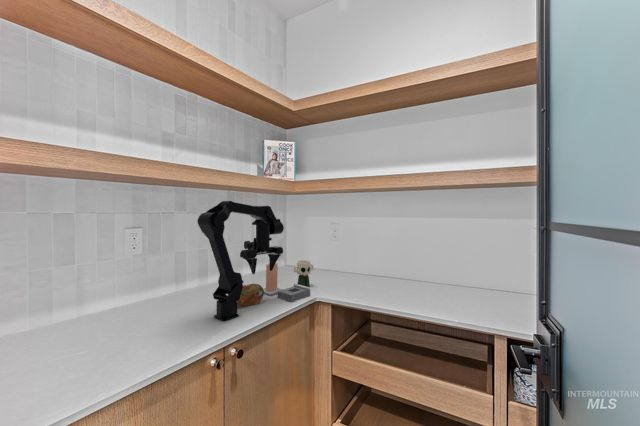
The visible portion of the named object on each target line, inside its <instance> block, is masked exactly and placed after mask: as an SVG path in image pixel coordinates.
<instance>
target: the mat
mask: <svg viewBox="0 0 640 426" xmlns="http://www.w3.org/2000/svg"><path fill="white" fill-rule="evenodd" d="M283 289H284V288H280V287H277V290H275V291H273V292H272V291H266V287H265V288H263V290H264V295H266V296H269V297H273V296H275V295H277V291H280V290H283Z"/></svg>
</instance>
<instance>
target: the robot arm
mask: <svg viewBox="0 0 640 426" xmlns="http://www.w3.org/2000/svg"><path fill="white" fill-rule="evenodd" d="M231 213H234V214H240V215H247V216H250V217H251V218H253V219H254V221H252V222H251V225H252V226H255V237H253V241H250V240H245V241H244V242H243V249H242V250H241V251H240V253H239V257H240V258H242V259H243V260H246V262H247V264H248V266H249V269H250V271H251V274H252V275H255V274H256V269H257V262H258V258H257V256H260V255H266V254H267V256H268V257H269V263H268V264H269V267H270V271H272V270H273V268H274V265H275V263H277V261H278V260H279V258H280V257H281V256H282V255H283V254H284V249H283V247H282V246H276V245H275V246H273V245H272V246H271V244H270V241H273V239H272V237H270V235H279V234H280V235H281V234H282V233H283V232H284V229H285V227H284V225H283V223H282V221H281V219H280V218H277V216H275V214H274V212H273V209H272V207H271V206H270V205H250V204H246V203H241V202H240V203H239V202H234V201H232V200H222V201H221V202H219V203H217V204H216V205H214V206H213V207H212V208H210V209H207V210H206V212H203V213H200V215H199V216H198V218H197V224H198V227H199V229H200V231H201V233H202V234H203V235H204V236H205V237H206V238H207V239H208V242H209V245H210V248H211V251H212V254H213V257H214V260H215V263H216V267H217V269H218V273H219V277H218V280H217V283H218V286H217V288H216V289H215V291H214V292H213V293H212V297H213V299H214V300H216V314H214V316H213V317H214V318H216V319H218V320H220V321H222V322H225V321H228V320H232V319H234V318H237V317H239V315H240V314H239V313H238V308H237V302H236V301H239V299H240V295H241V292H242V289H243V286H244V282H245V281H244V280H243V278H242V276H243V275H242V274H241V272H237V271H234V268H233V265H232V261H231V258H230V255H229V254H230V253H229V251H228V248H227V245H226V241H225V238H224V231H225V228H226V227H225V222H226V221H228V219H229V217H230V215H231ZM228 294H229V296H228Z"/></svg>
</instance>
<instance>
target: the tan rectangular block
mask: <svg viewBox="0 0 640 426" xmlns="http://www.w3.org/2000/svg"><path fill="white" fill-rule="evenodd" d="M278 267H279V266H278V263H277V262H276V263H275V265H274V268H273V270H272V271H270V267H269V263H267V264H266V267H265V272H266V273H265V288H266V291H272V292H273V291H275V290H277V288H278Z"/></svg>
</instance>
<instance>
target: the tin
mask: <svg viewBox="0 0 640 426" xmlns="http://www.w3.org/2000/svg"><path fill="white" fill-rule="evenodd" d="M263 289H264V288H263V287H262V285H260V284H258V283H249V284H243V289H242V292H241V295H240V299H239V301H236V302H237V309H241V308H245V307H249V306H253V305H254V306H255V305H257V304H259V303H260V302H261V301H262V300H263V298H264V295H265V294H264V290H263ZM227 295H228V296H229V294H227Z"/></svg>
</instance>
